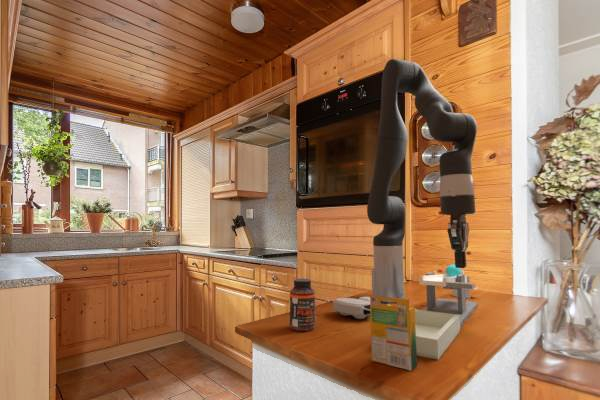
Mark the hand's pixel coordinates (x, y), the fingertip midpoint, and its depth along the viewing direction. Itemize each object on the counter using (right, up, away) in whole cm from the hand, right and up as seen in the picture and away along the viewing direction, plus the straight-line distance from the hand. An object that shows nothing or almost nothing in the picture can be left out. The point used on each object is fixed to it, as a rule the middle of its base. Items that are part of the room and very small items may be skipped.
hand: (460, 267), depth 82 cm
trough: (+3, -8, +10) cm, 13 cm away
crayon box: (-22, -13, -21) cm, 33 cm away
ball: (+7, -5, +20) cm, 22 cm away
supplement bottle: (-37, -14, 0) cm, 40 cm away
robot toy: (-22, -15, +12) cm, 29 cm away
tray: (-13, -13, -9) cm, 20 cm away
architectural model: (+15, -16, +32) cm, 39 cm away
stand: (+1, -15, +11) cm, 18 cm away
